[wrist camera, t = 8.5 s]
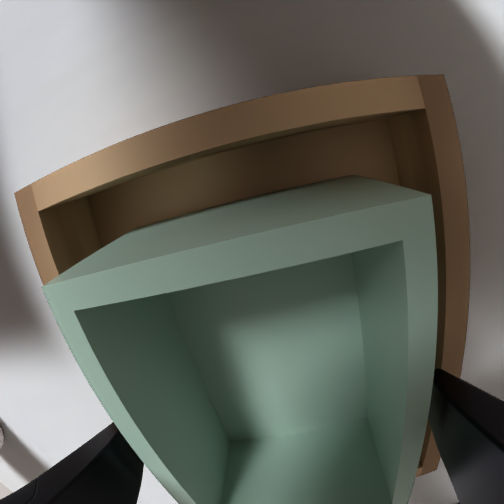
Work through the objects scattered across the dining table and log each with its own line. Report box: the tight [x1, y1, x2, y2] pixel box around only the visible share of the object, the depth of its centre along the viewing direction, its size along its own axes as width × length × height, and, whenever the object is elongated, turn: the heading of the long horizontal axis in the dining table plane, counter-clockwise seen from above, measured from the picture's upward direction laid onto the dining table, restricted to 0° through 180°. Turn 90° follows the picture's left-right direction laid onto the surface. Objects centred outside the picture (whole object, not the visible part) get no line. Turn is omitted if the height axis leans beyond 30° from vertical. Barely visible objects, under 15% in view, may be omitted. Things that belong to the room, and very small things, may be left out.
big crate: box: [14, 75, 470, 477], centre depth 10 cm, size 12×15×4 cm
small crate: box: [42, 175, 438, 504], centre depth 8 cm, size 7×10×5 cm
